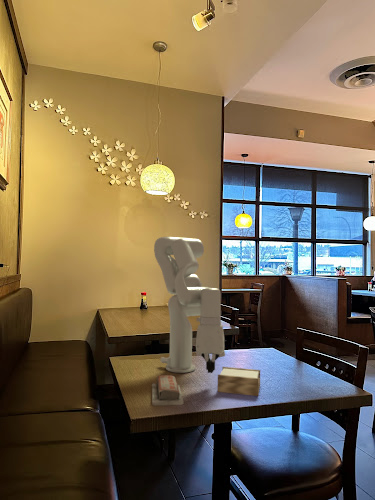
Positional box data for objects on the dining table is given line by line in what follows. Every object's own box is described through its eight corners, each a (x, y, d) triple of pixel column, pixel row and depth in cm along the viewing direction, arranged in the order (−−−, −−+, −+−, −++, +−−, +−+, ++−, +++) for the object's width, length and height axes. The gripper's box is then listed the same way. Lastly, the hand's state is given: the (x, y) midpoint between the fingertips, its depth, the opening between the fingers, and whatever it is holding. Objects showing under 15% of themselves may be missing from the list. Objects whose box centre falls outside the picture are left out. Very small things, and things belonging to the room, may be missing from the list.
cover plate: (219, 380, 125) (219, 374, 125) (223, 373, 133) (223, 368, 134) (257, 384, 122) (257, 378, 122) (258, 376, 130) (258, 371, 130)
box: (217, 391, 124) (217, 375, 124) (222, 381, 135) (222, 366, 135) (258, 396, 120) (258, 379, 121) (260, 385, 131) (260, 370, 131)
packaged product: (151, 374, 129) (179, 373, 130) (151, 387, 129) (178, 387, 130) (152, 391, 111) (184, 391, 112) (152, 407, 111) (183, 406, 112)
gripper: (188, 322, 130) (188, 373, 128) (229, 323, 126) (229, 376, 124) (193, 319, 137) (193, 368, 136) (232, 320, 133) (232, 370, 132)
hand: (210, 371), depth 130 cm, fingers closed
